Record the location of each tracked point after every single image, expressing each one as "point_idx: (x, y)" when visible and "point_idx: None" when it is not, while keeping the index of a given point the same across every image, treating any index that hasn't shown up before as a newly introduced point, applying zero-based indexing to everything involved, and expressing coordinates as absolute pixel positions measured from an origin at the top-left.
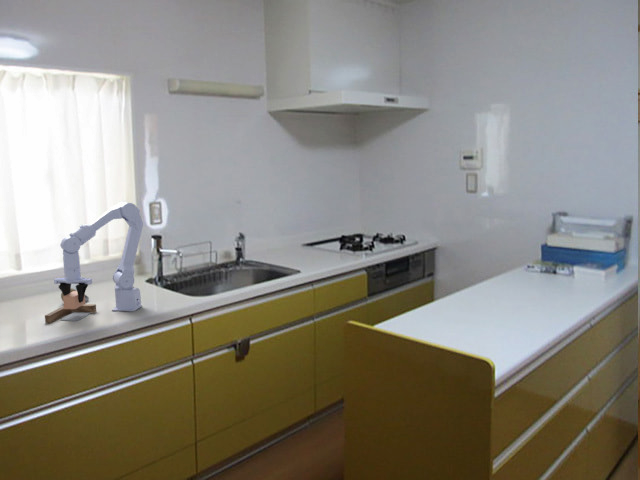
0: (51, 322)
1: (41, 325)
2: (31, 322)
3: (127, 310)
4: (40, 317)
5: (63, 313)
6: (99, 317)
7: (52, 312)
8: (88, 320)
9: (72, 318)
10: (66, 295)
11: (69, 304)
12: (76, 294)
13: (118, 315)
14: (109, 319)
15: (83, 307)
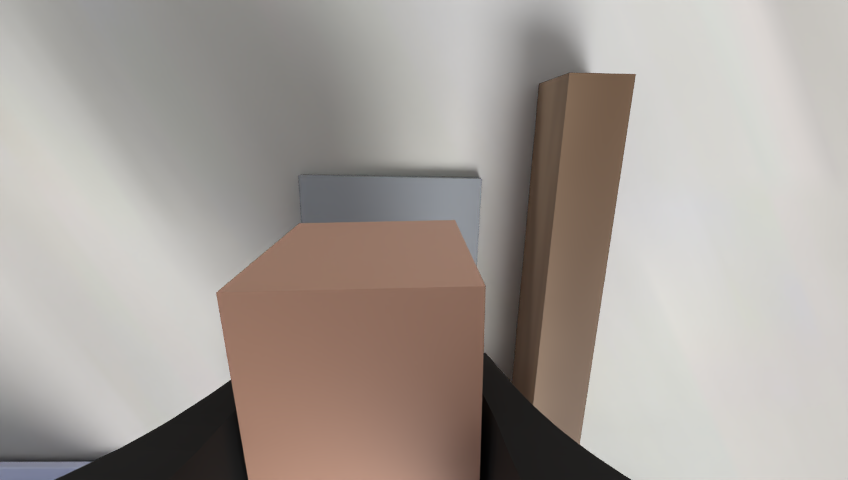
0: (537, 102)
1: (600, 5)
2: (744, 103)
3: (19, 465)
4: (716, 259)
5: (524, 319)
6: (164, 293)
7: (594, 204)
8: (209, 200)
9: (380, 219)
10: (453, 368)
11: (368, 238)
12: (283, 444)
13: (29, 357)
14: (25, 242)
15: None
